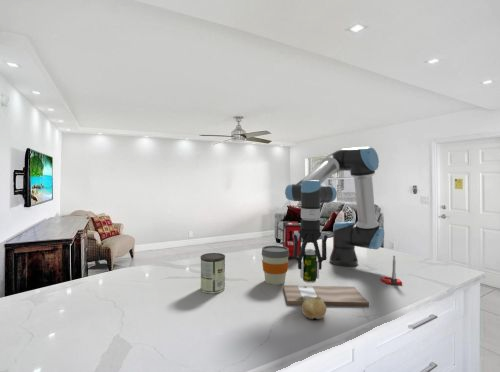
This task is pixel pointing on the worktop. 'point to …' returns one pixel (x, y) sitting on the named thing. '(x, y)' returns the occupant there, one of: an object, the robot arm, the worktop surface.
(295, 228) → the cleaning product box
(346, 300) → the walnut board
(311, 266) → the beer can
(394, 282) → the tow hook
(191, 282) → the worktop surface
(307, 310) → the onion
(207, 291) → the coffee can
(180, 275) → the worktop surface
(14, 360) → the worktop surface
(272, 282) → the reusable coffee cup
